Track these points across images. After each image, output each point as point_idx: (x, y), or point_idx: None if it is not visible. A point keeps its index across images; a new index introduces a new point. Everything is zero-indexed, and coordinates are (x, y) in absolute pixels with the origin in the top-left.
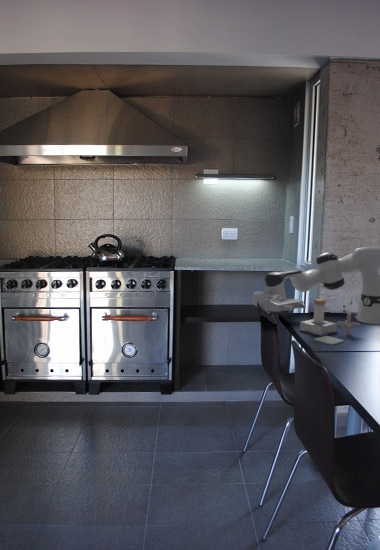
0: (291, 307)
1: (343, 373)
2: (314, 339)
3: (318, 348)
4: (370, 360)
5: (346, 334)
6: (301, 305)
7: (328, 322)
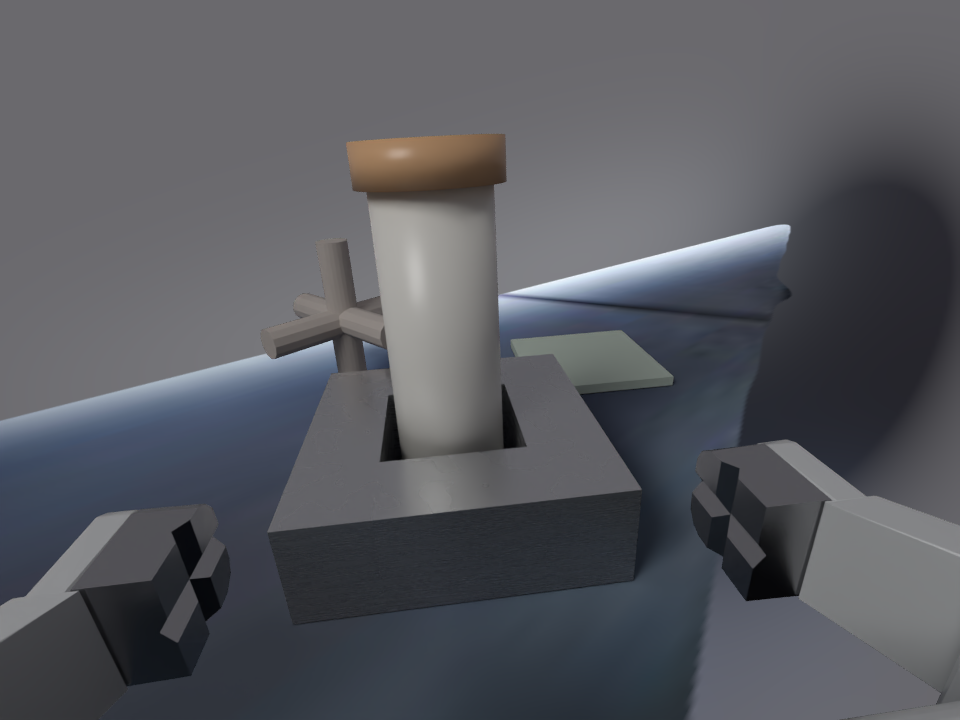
0: (778, 441)
1: (751, 259)
2: (671, 378)
3: (723, 330)
4: (596, 275)
5: None
6: (173, 585)
7: (350, 402)
